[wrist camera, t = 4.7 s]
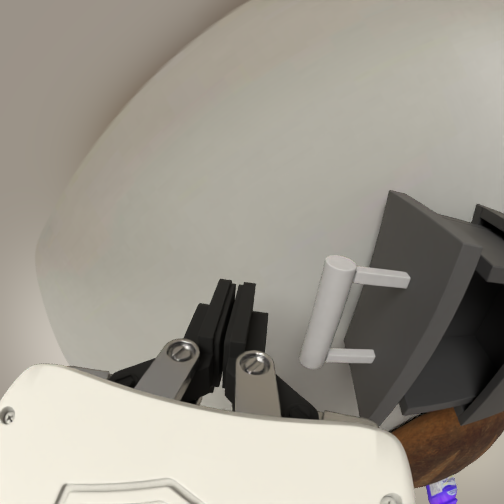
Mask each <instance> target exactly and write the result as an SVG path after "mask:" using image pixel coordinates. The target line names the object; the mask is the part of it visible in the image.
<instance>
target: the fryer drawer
mask: <svg viewBox="0 0 504 504" xmlns="http://www.w3.org/2000/svg"><path fill="white" fill-rule="evenodd" d="M352 282H353V283H357V284H364V286H363V289H362V292H361V295H360V298H359V301H358V304H357V307H356V309H355V312H354V315H353V318H352V320H351V323H350V326H349V328H348V331H347V333H346V336H345V338H344V343H345V347H346V349H344V348H330V346H331V344H332V341H333V338H334V336H335V333H336V330H337V327H338V325H339V322H340V319H341V316H342V313H343V310H344V307H345V304H346V301H347V298H348V295H349V292H350V288H351V285H352ZM299 360H300V363H301V364H302V365H303V366H304V367H306V368H309V369H318V368H320V367H322V366H323V364H324V362H325V360H326V362H337V363H349V365H350V370H351V374H352V379H353V384H354V389H355V394H356V399H357V404H358V410H359V415H360V417H362V418H368V419H371V420H373V421H374V422H376V423H377V425H378V426H380V424H381V423H382V422H383V421H384V420H385V419H386V417H387V416H388V415H389V414H390V413H391V411H392V410H393V409H394V408H395V406H396V405H397V404H398V403H399V405H400V408H401V412H402V415H411V414H418V413H424V412H430V411H436V410H441V409H446V408H451V407H455V406H460V405H464V404H468V403H472V402H473V401H474V400H475V399H476V398H477V397H478V395H479V394H480V393H481V392H482V391H483V389H484V388H485V387H486V386H487V385H488V383H489V382H490V381H491V379H492V378H493V377H494V376H495V374H496V373H497V372H498V370H499V369H500V367H501V366H502V365H503V363H504V233H503V232H500V231H496V230H493V229H490V228H487V227H483V226H480V225H477V224H473V223H470V222H466V221H463V220H459V219H455V218H452V217H448V216H444V215H440V214H437V213H435V212H434V211H432V210H430V209H429V208H427V207H426V206H424V205H423V204H421V203H420V202H418V201H416V200H415V199H413V198H412V197H410V196H408V195H407V194H404V193H400V192H396V191H392V190H389V194H388V198H387V203H386V207H385V212H384V216H383V220H382V224H381V228H380V232H379V235H378V239H377V243H376V247H375V250H374V254H373V257H372V260H371V264H370V267H362V266H357V265H356V263H355V262H354V261H352V260H351V259H349V258H346V257H343V256H339V255H331V256H328V257H327V258H326V259H325V263H324V268H323V272H322V276H321V280H320V284H319V288H318V292H317V296H316V300H315V304H314V307H313V311H312V315H311V318H310V322H309V325H308V329H307V333H306V336H305V339H304V343H303V346H302V349H301V353H300V356H299Z"/></svg>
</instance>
